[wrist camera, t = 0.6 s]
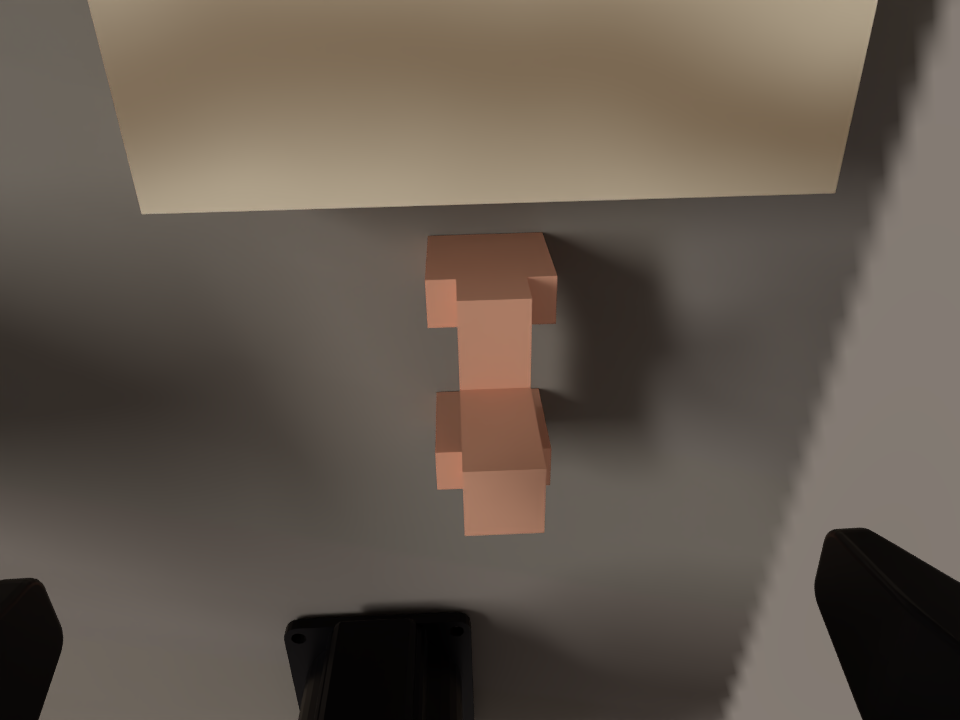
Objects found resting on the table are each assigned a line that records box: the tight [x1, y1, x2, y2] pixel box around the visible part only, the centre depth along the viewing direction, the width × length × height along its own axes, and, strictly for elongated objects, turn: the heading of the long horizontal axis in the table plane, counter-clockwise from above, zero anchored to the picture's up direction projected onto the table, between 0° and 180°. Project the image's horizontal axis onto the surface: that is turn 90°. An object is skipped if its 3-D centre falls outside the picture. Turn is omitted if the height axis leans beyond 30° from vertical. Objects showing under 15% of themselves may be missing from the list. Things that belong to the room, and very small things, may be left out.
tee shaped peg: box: [425, 232, 557, 536], centre depth 17 cm, size 6×3×7 cm, turn 1°
